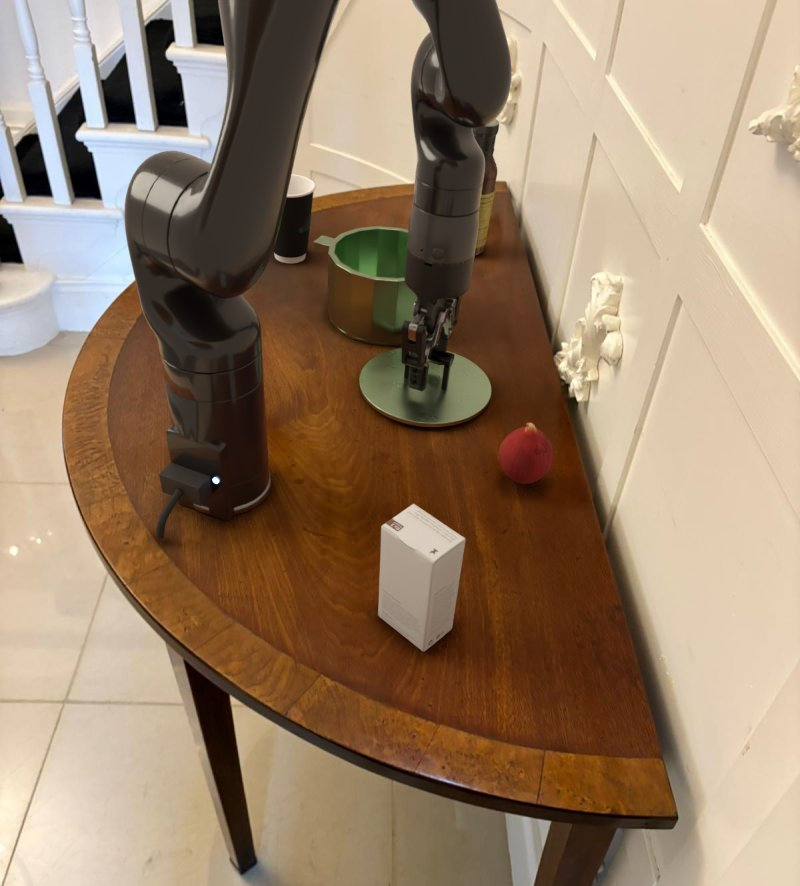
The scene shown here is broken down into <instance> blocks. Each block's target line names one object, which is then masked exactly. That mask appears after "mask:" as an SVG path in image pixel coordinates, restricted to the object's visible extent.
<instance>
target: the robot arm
mask: <svg viewBox="0 0 800 886" xmlns="http://www.w3.org/2000/svg"><path fill="white" fill-rule="evenodd" d="M217 2H218V10H219V16H220V24H221V31H222V37H223V44H224V52H225V60H226V69H227V70H226V71H227V74H226V75H227V87H226V88H227V89H226V100H225V105H224V106H225V108H224V113H223V118H222V122H221V127H220V131H219V136H218V139H217V143H216V146H215V150H214V153H213V156H212V160H211V162H208V161H207V160H204V159H202V158H199V157H198V156H195V155H193V154H190V153H187V152H184V151H178V150H165V151H161V152H157V153H155V154H152V155H150V156H149V157H147V158H146V159H145V160H144V161H142V163H141V164H140V165H139V166H138V167H137V168H136V170H135V171H134V173H133V175H132V177H131V178H130V180H129V183H128V187H127V190H126V194H125V200H124V210H123V211H124V212H123V213H124V214H123V218H124V221H123V222H124V232H125V237H126V238H125V239H126V245H127V248H128V249H127V250H128V254H129V259H130V262H131V268H132V271H133V276H134V281H135V285H136V289H137V294H138V298H139V302H140V306H141V310H142V313H143V316H144V318H145V320H146V323H147V325H148V326H149V328H150V330H151V331H152V332H153V334H154V336H155V339H156V342H157V348H158V352H159V359H160V364H161V371H162V378H163V384H164V389H165V396H166V402H167V409H168V414H169V420H170V426H168V428H167V429H166V430H165V437H166V443H167V449H168V454H169V462H170V463H169V464H168V465H167V466H166V467H164V468H163V470H161V472H159V474H158V477H159V481H160V487H161V492H162V493H164V494H167V495H170V498H169V499H168V501H167V503H166V504H165V506H164V508H163V509H162V511H161V513H160V515H159V518H158V521H157V523H156V532H155V538H156V539H157V540H163V539H164V538H165V532H166V531H165V530H166V524H167V522H168V519H169V517H170V515H171V513H172V511H173V509H174V508H175V507H176V505H177V504H180V505H181V506H184V507H188V508H190V509H193V510H195V511H198V512H200V513H203V514H206V515H209V516H212V517H214V518H217V519H219V520H222V521H224V522H225V521H226V522H228V521H230V520H231V519H232V518H233V517H234V516H235V515H239V514H240V515H241V514H244V513H246V512H248V511H251V510H253V509H254V508H256V507H258V506H259V505H261V504H262V503H263V502H264V501H265V499H266V498H268V496H269V494H270V491H271V488H272V487H271V486H272V479H271V472H270V462H269V446H268V432H267V431H268V427H267V409H266V392H265V377H264V376H265V375H264V357H263V337H262V325H261V322H260V318H259V316H258V313H257V312H256V310H255V309H254V307H253V306H252V304H251V303H250V302H249V301H248V300H247V299H246V298H245V296H244V295H243V294H244V293H246V292H248V291H249V290H250V289H252V288H253V286H254V285H255V284H256V283H257V282H258V280H259V279H260V278H261V276H262V275H263V273H264V271H265V269H266V268H267V266H268V263H269V261H270V259H271V257H272V255H273V253H274V252H273V249H274V246H275V243H276V240H277V236H278V232H279V229H280V225H281V220H282V216H283V211H284V207H285V202H286V198H287V193H288V188H289V183H290V179H291V174H293V169H294V165H295V160H296V155H297V151H298V146H299V141H300V138H301V134H302V129H303V125H304V121H305V117H306V113H307V111H308V106H309V103H310V100H311V96H312V92H313V90H314V85H315V82H316V78H317V75H318V72H319V68H320V64H321V62H322V57H323V54H324V50H325V48H326V44H327V41H328V37H329V34H330V32H331V28H332V26H333V23H334V21H335V20H334V19H335V16H336V14H337V11H338V8H339V6H340V2H341V0H217ZM411 2H412V4H413V7H414V8H415V9H416V11H418V13H419V14H420V15H421V16H422V18H423V19H424V20H425V23H427V26H428V30H429V32H428V33H427V34H426V35H425V37H424V38H423V40H422V41H421V43H420V44H419V46H418V47H417V50H416V53H415V55H414V56H415V57H414V59H413V62H412V68H411V76H410V102H411V114H412V126H413V134H414V143H415V148H416V157H417V158H416V159H417V160H416V166H415V175H414V187H413V197H412V206H411V212H410V214H409V219H408V227H407V228H408V229H407V230H408V240H407V252H406V264H405V276H404V279H405V283H406V285H407V286H408V287H409V288H410V289H411V290H412V291H413V292H414V293H415V294H416V296H417V300H415V302H414V305H413V309H412V316H413V318H412V322H411V321H407V320H405V321H404V323H403V325H402V345H401V348H402V364H404V365H409V376H408V386H409V387H410V388H412V389H416V390H419V391H424V389H425V388H426V387H427V379H428V370H429V363H434V362H431V361H430V358H431V354H432V350H433V348H436V349H439V350H443V351H446V352H447V351H448V344H449V338H450V337H451V336H452V333H453V327H456V325H457V324H458V321H459V320H458V319H459V315H460V308H461V302H462V297H463V295H464V294H466V293H467V292H468V291H469V290H470V287H471V284H472V277H473V270H474V264H475V258H476V257H475V256H476V255H475V250H476V244H477V237H478V230H479V206H480V199H481V193H482V186H483V179H484V172H485V158H484V155H483V152H482V150H481V148H480V147H479V145H478V143H477V142H476V140H475V138H474V135H473V129H472V128H480V127H483V126H486V125H488V124H490V123H491V122H492V121H494V120H495V119H496V120H497V118H498V117H499V115H501V113H502V111H503V110H504V108H505V107H506V105H507V101H508V100H509V96H510V93H511V88H512V87H511V86H512V80H513V79H512V78H513V77H512V76H513V74H512V73H513V71H512V70H513V66H512V58H511V57H512V56H511V51H510V47H509V42H508V39H507V35H506V30H505V28H504V24H503V21H502V16H501V13H500V10H499V5H498V2H497V0H411ZM427 334H431V335H429V337H426V336H427ZM425 347H426V351H425ZM434 364H437V363H434ZM437 365H441V364H437Z"/></svg>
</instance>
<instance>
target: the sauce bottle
mask: <svg viewBox="0 0 800 886" xmlns="http://www.w3.org/2000/svg"><path fill="white" fill-rule="evenodd" d="M472 129H473V135H474V138H475V140H476V142H477V143H478V145H479V147H480V148H481V150H482V152H483V155H484V158H485V172H484V179H483V186H482V193H481V199H480V206H479V230H478V237H477V244H476V250H475V256H479V255H481V254H482V253H483V252H484V249H485V244H486V242H487V236H488V231H489V225H490V220H491V215H492V209H493V205H494V198H495V194H496V182H497V177H498V166H497V163H496V160H495V158H494V153H495V144H496V138H497V135H498V133H499V129H500V121H499V120H498V119H497V118H496V119H495V120H494V121H492V122H491V123H490V124H488V125H486V126H483V127H480V128H472Z"/></svg>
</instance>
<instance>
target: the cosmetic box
mask: <svg viewBox="0 0 800 886" xmlns="http://www.w3.org/2000/svg"><path fill="white" fill-rule="evenodd" d="M465 547H466V537H464V536H462V534H460V533H458V532H456V531H455V530H453V528H451V527H449V526H448V525H446V524H444V523H443V522H442V521H440V520H438V519H437V518H436V517H434V516H433V515H432V514H430V513H429V512H427V511H426V510H424V509H423V508H421V507H419V506H418V505H417V504H415V503H412V504H410V505H409V506H408V507H406V508H405V509H403V510H402V511H401V512H399V513H398V514H397V515H395V516H393V517H392V518H390V520H388V521H386V522H385V523H383V524H382V525H381V526H380V555H379V556H380V557H379V579H378V581H379V582H378V606H377V607H378V608H377V616H378V617H379V618H380V619H381V620H383V621H384V622H385V623H386V624H388V625H389V626H390V627H391V628H393V629H394V630H395V631H396V632H398V633H399V634H400V635H401V636H402V637H404V638H405V639H406V640H408V641H409V642H410V643H411V644H413V645H414V646H415V647H416V648H418V649H419V650H420V651H421V652H426V651H427V650H429V648H431V647H432V646H434V645H435V644H436V643H437V642H438V641H439V640H441V639H442V638H443V637H444V636H445V635H446V634H448V633H449V632H450V631H451V630H452V629H453V625H454V618H455V612H456V607H457V605H456V604H457V598H458V592H459V585H460V579H461V573H462V566H463V560H464V552H465Z"/></svg>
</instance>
